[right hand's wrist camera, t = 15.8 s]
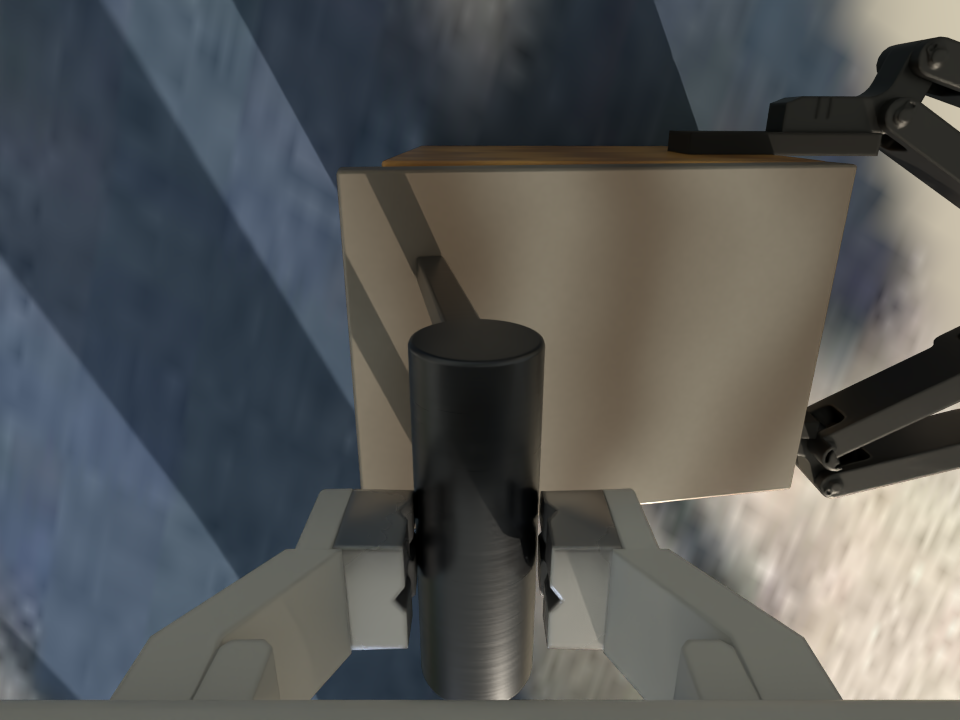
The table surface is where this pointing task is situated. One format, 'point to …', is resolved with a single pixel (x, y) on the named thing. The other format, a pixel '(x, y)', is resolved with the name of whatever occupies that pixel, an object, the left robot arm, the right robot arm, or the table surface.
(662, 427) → the lid
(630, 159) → the chest
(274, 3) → the table surface
